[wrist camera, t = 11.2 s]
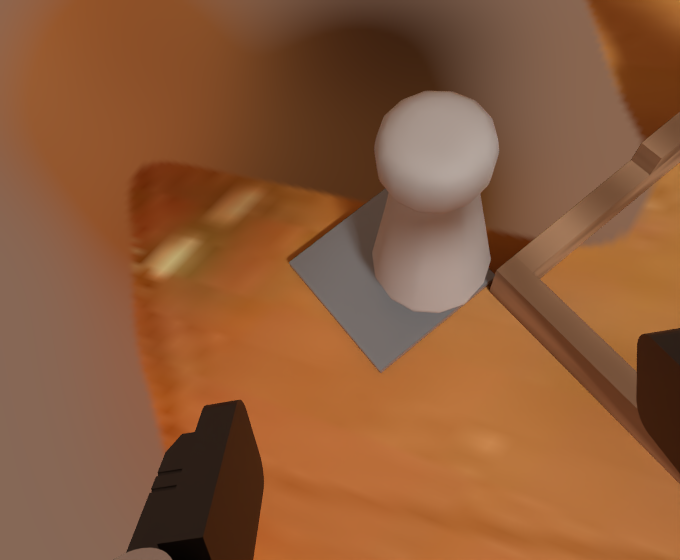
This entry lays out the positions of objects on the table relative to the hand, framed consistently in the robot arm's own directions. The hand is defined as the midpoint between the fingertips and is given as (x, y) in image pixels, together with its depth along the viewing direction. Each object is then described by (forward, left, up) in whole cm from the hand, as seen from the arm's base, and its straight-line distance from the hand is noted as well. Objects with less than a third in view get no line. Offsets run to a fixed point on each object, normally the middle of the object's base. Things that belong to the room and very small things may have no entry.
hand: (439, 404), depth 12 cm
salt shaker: (-7, -7, -18) cm, 20 cm away
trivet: (-5, -9, -18) cm, 21 cm away
